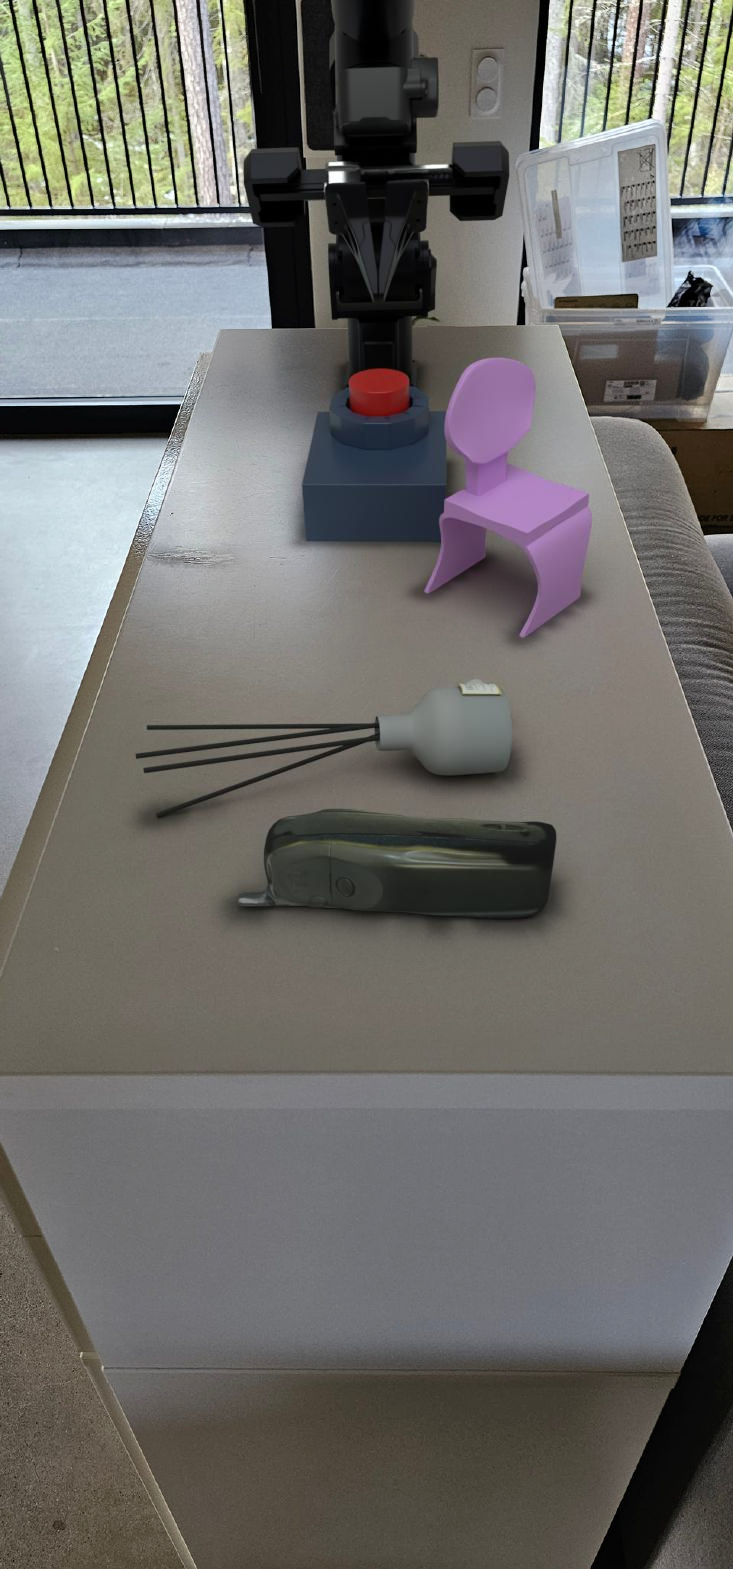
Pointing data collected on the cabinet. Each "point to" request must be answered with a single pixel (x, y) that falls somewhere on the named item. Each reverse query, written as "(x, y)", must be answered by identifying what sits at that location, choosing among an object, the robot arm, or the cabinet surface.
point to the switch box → (376, 474)
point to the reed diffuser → (389, 736)
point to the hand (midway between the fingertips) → (378, 299)
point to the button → (379, 392)
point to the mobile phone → (407, 864)
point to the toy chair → (508, 490)
